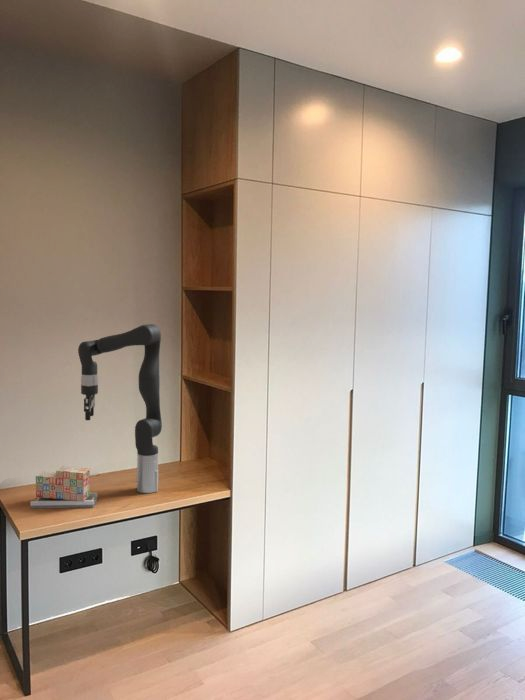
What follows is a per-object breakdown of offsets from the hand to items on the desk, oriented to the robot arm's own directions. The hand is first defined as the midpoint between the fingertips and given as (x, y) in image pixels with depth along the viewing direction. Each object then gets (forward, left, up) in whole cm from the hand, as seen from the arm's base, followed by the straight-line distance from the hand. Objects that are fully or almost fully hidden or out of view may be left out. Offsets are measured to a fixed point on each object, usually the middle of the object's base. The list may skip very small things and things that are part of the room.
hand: (89, 417), depth 264 cm
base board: (+5, +29, -30) cm, 42 cm away
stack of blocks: (+6, +29, -28) cm, 40 cm away
